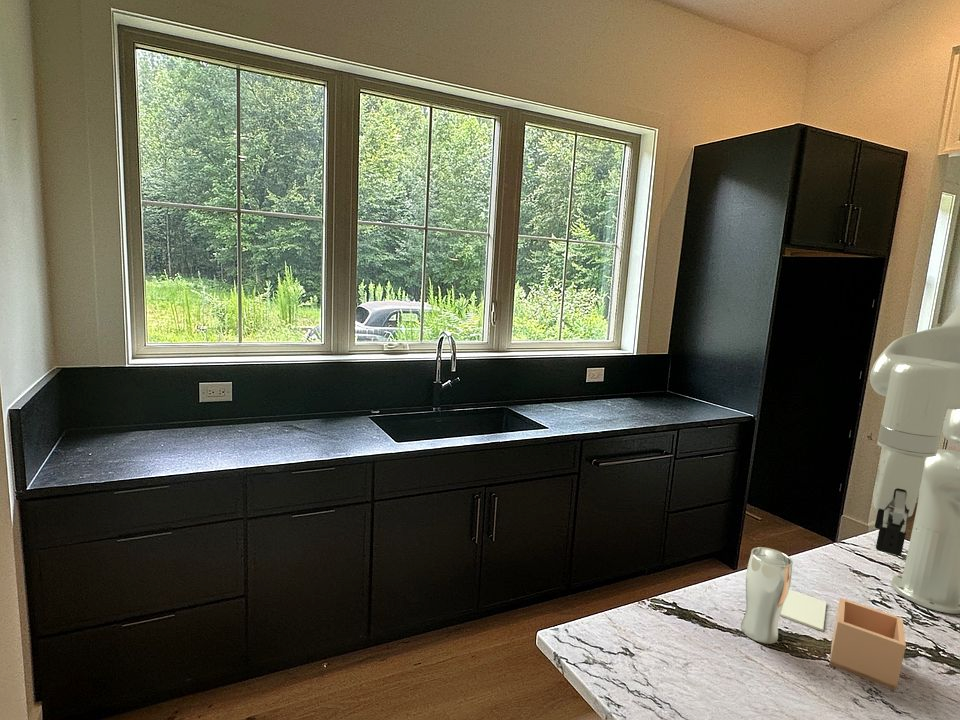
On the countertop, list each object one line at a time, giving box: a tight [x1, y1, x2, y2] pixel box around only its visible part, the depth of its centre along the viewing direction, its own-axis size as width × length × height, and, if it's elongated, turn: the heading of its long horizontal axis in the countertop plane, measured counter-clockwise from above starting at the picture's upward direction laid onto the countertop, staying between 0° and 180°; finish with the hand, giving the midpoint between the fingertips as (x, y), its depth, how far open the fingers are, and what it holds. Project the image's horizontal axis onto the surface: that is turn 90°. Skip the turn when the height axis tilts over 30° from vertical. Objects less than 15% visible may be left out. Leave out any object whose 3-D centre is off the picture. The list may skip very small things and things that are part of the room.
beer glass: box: [740, 546, 794, 645], centre depth 98 cm, size 7×7×15 cm
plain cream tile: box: [779, 589, 827, 632], centre depth 108 cm, size 11×11×1 cm
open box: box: [829, 597, 907, 692], centre depth 92 cm, size 9×9×8 cm
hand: (886, 540), depth 89 cm, fingers open, 9 cm apart
